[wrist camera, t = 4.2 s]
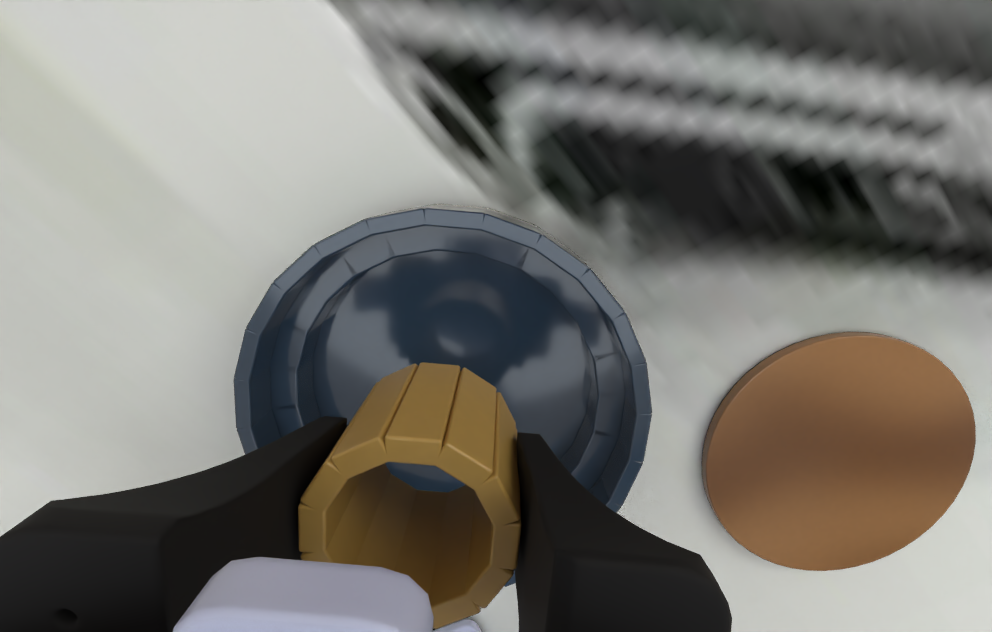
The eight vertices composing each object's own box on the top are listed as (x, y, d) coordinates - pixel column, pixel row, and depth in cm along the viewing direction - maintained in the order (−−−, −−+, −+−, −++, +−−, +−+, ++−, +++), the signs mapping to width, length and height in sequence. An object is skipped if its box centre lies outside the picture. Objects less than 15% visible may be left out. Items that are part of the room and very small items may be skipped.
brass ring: (541, 472, 15) (555, 586, 11) (402, 529, 16) (364, 656, 12) (473, 336, 14) (459, 402, 10) (327, 401, 15) (254, 490, 10)
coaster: (989, 509, 20) (1001, 517, 20) (747, 594, 22) (752, 603, 21) (930, 286, 18) (942, 289, 18) (664, 396, 19) (668, 401, 19)
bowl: (674, 454, 20) (709, 510, 17) (384, 569, 22) (361, 641, 18) (539, 138, 17) (548, 127, 14) (215, 298, 19) (151, 324, 15)
